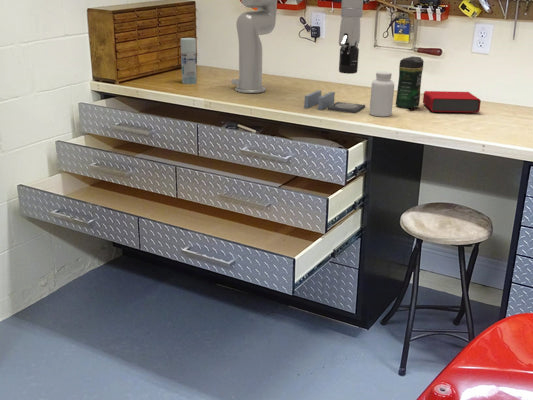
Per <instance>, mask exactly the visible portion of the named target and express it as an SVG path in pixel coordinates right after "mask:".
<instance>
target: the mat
mask: <svg viewBox="0 0 533 400" xmlns="http://www.w3.org/2000/svg"><path fill="white" fill-rule="evenodd" d="M365 108H366V104H359V103H350V102H343V101H342V102H341V101H336V102H334V104H332V105H330V106H329V107H327V108H326V110H327V111H334V112H340V113H341V112H343V113H351V114H357V113H358V112H360V111H362V110H363V109H365Z"/></svg>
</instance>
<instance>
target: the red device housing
mask: <svg viewBox="0 0 533 400" xmlns="http://www.w3.org/2000/svg"><path fill="white" fill-rule="evenodd" d="M422 98H423V99H422V103H423V105H425V106H426V107H427V108H428V109H429V110H430V111H431V112H432V113H433V112H435V113H438V112H439V113H479V112H480V108H481V99H480V98H478V97H477V96H475V95H474V94H472V93H470V91H444V90H443V91H441V90H440V91H438V90H437V91H436V90H435V91H434V90H430V91H429V90H425V91H424V92H423V97H422Z"/></svg>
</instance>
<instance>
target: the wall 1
mask: <svg viewBox="0 0 533 400" xmlns="http://www.w3.org/2000/svg"><path fill="white" fill-rule="evenodd" d="M320 96H322V90H318V89H317V90H315V91H312V92H311V93H308V94H306V95H304V102H303V104H304V106H303V108H304V109H309V108H311V107H314V106H316V105H318V97H320Z"/></svg>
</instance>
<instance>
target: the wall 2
mask: <svg viewBox="0 0 533 400" xmlns="http://www.w3.org/2000/svg"><path fill="white" fill-rule="evenodd" d="M335 95H336V92H335V91H330V92H328V93H325V94H323V95H321V96H320V97H318V104H317V110H318V111H323V110H324V109H327V107H329V106H331V105H333V104H335Z"/></svg>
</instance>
